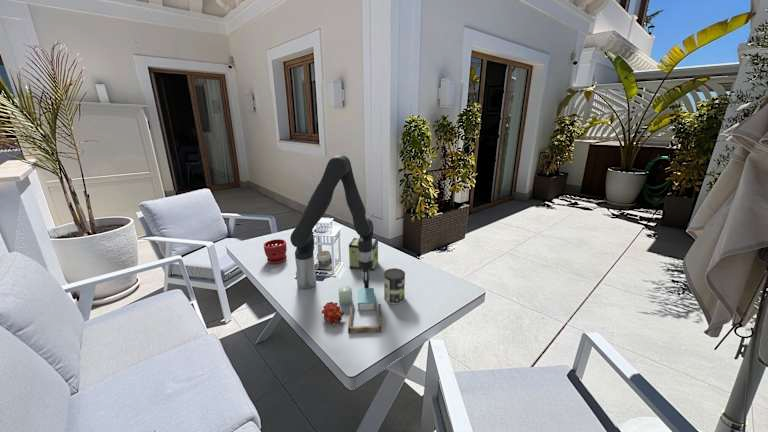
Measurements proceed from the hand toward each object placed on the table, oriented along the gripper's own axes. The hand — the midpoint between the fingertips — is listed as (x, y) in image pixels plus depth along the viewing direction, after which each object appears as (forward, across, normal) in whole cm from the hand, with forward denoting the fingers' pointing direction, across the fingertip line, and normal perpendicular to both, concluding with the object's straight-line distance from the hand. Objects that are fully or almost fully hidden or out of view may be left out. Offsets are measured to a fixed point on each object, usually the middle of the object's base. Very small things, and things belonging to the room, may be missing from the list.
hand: (366, 287), depth 155 cm
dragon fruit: (+2, +22, -14) cm, 27 cm away
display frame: (+2, +24, 0) cm, 24 cm away
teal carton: (+2, +10, 0) cm, 11 cm away
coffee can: (+2, +8, +14) cm, 16 cm away
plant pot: (+2, -36, -57) cm, 67 cm away
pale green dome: (+2, +10, -10) cm, 14 cm away
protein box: (+2, -26, -2) cm, 27 cm away
